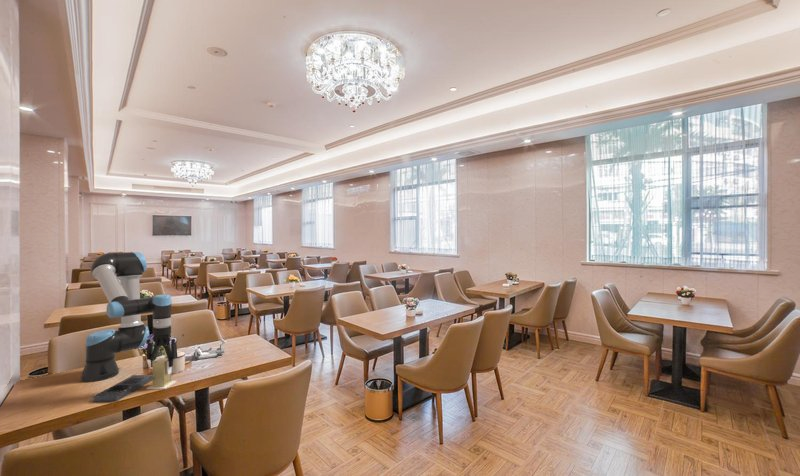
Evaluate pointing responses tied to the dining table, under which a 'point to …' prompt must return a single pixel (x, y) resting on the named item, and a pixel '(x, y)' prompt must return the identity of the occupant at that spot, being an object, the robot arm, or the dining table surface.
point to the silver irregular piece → (208, 352)
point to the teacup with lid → (178, 363)
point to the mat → (161, 387)
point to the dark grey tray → (122, 388)
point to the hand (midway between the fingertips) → (162, 373)
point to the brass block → (160, 373)
